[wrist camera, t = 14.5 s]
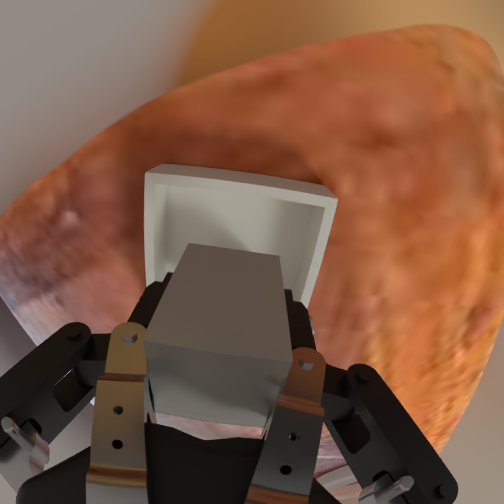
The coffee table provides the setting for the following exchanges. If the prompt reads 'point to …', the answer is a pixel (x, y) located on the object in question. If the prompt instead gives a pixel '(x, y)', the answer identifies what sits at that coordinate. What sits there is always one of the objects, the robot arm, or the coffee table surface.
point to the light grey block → (220, 337)
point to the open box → (236, 220)
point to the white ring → (340, 483)
